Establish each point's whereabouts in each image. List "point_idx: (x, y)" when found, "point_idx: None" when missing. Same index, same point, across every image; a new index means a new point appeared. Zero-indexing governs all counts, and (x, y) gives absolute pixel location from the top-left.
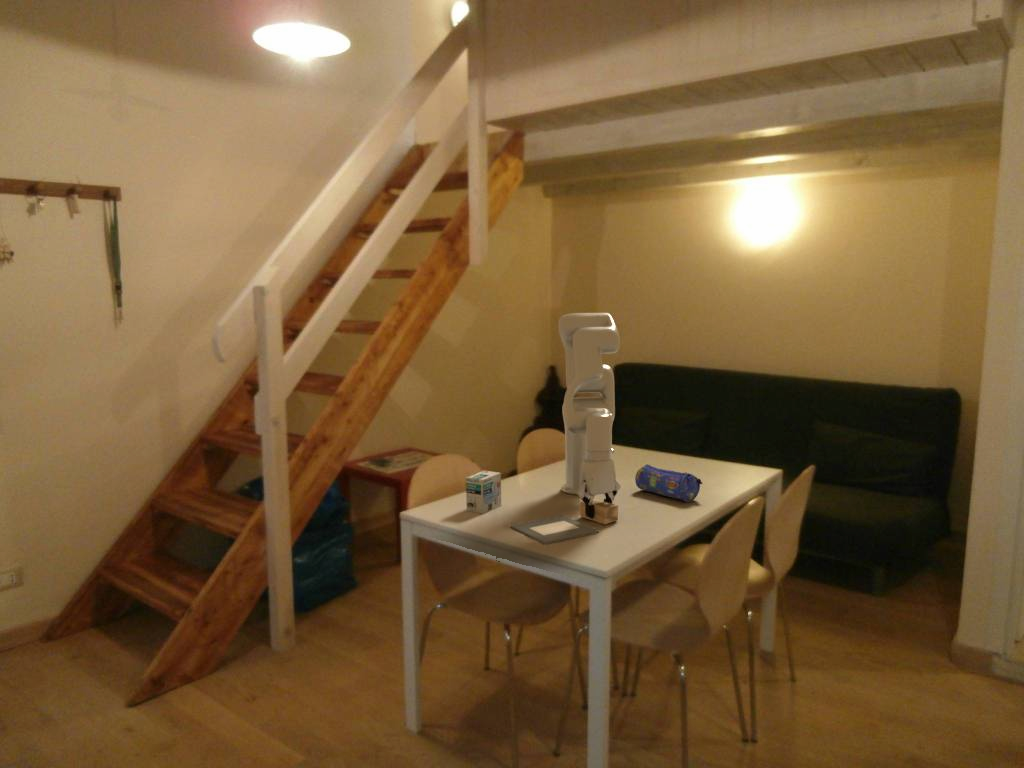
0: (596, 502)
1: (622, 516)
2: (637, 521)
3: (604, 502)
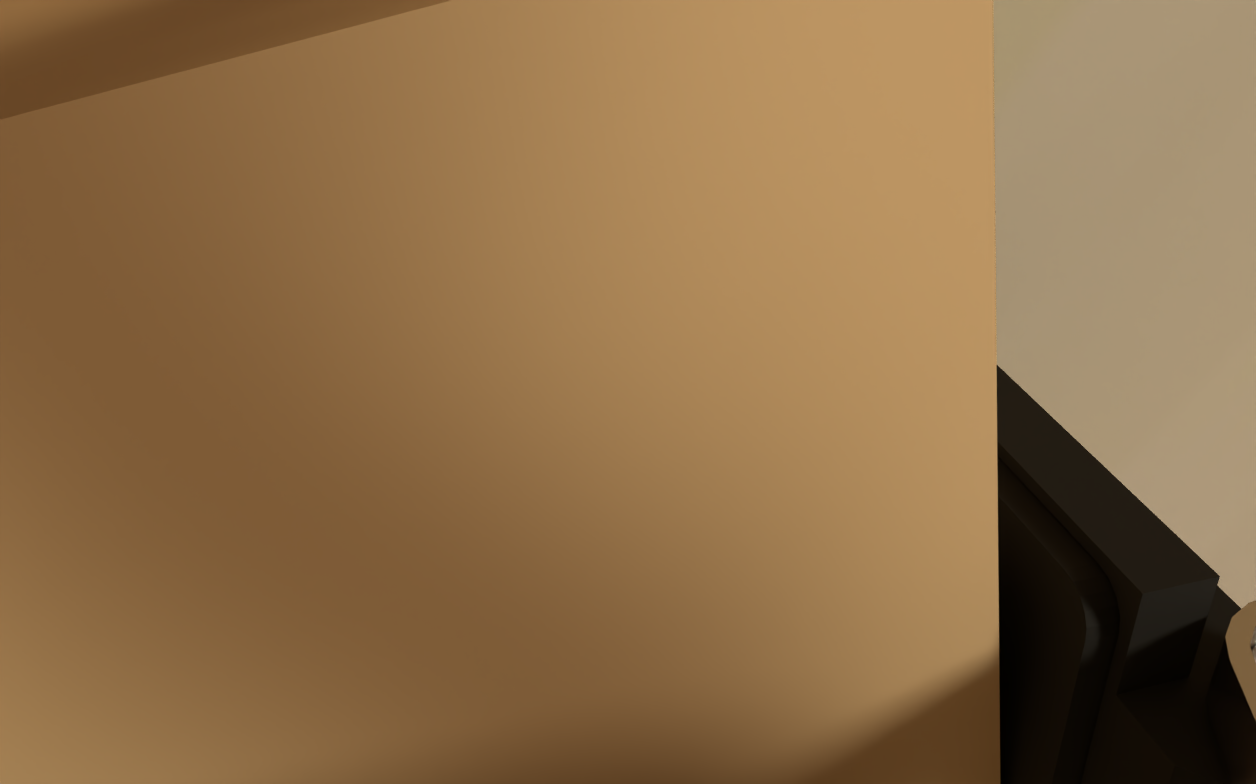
0: (586, 700)
1: (1145, 409)
2: None
3: (889, 775)
